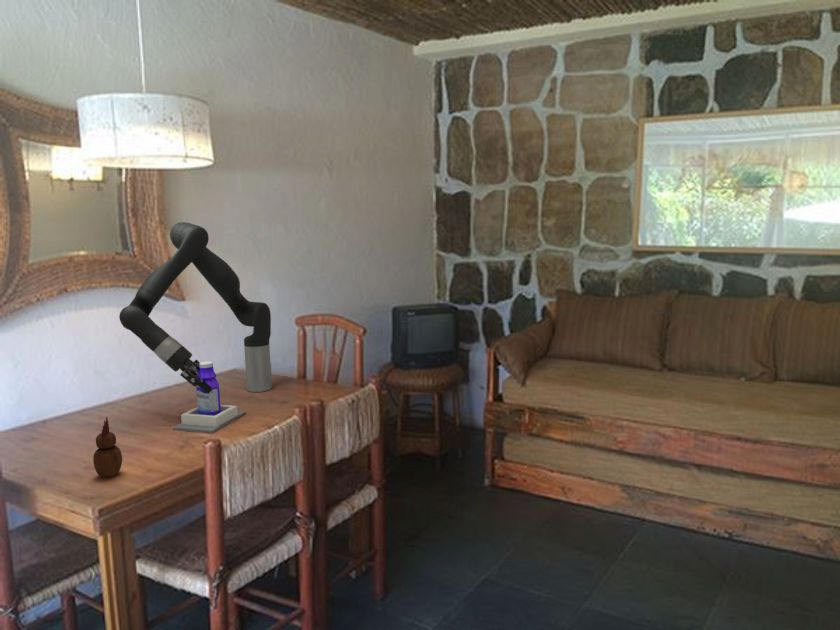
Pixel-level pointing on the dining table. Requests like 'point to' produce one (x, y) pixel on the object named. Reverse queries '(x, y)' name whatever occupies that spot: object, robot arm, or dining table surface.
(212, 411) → the bottle
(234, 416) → the bottle stand
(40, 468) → the dining table surface
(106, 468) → the wooden figurine
